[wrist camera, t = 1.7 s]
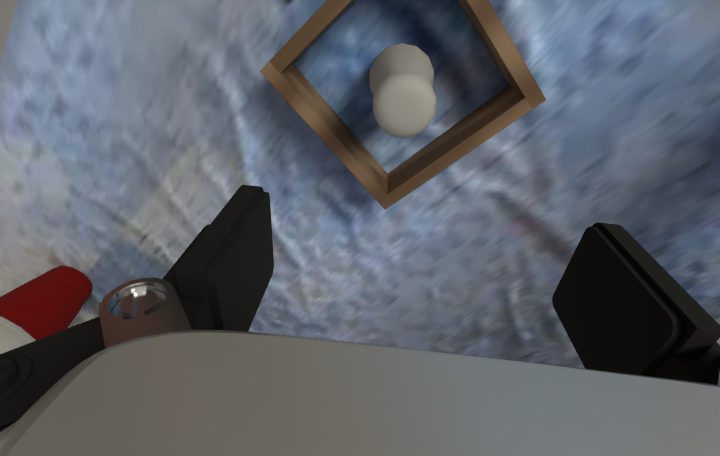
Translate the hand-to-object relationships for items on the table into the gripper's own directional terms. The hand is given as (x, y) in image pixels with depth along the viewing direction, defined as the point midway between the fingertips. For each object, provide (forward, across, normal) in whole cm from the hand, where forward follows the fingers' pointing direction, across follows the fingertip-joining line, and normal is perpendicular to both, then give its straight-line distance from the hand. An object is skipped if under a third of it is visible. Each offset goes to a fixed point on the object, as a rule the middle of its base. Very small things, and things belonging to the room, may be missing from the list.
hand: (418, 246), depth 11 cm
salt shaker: (+28, 0, 0) cm, 28 cm away
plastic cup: (+28, +44, +32) cm, 61 cm away
